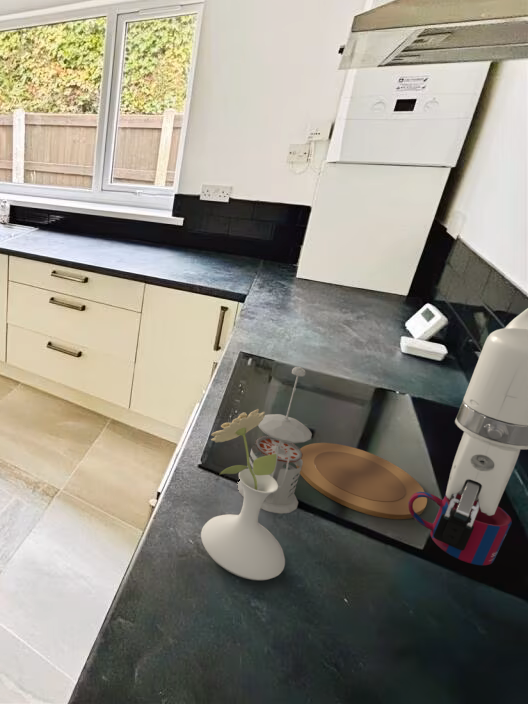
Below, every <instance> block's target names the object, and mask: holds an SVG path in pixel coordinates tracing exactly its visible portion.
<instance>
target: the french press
mask: <svg viewBox="0 0 528 704" xmlns="http://www.w3.org/2000/svg"><path fill="white" fill-rule="evenodd" d="M291 374H292V375H294V376H296V377H295V381H294V385H293V388H292V393H291V396H290V401H289V404H288V408H287V411H286V415H285V414H280V413H274V414H273V413H272V414H270V413H269V414H264V415H265V417H264V418H263V420H262V421H261V422H260V424H259V425H257V426H258V429H259V430H261V432H263V433H264V434H265V435H262V436H259V437H257V438H256V440H255V442H254V444H253V445H252V446H251V448H250V453H249V461H250V466H251V469H253V463H254V460H255V459H257V458H259V457H263V456H268V455H272V454H276V465H275V469H274V471H273V473H271V474H269V475H270V476H271V477H273V478H274V479H275V480H276V482H277V483H278V489H277V490H276V491H275V492H273V493H271V494H269V495H268V496H267V497H266V498H265V500H264V502H263V504H262V506H261V509H260V510H263V511H266V512H269V513H274V514H289V513H292V512H294V511H295V510H297V508H298V506H299V501H298V498H297V496H296V494H295V491H296V488H297V484H298V481H299V478H300V476H301V474H300V471H301V468H302V464H303V461H302V459H301V458H302V455H303V454H302V452H301V450H300V449H301V448H300V447H299V446H298V445H296V444H302V443H305V442H308V441H309V440H311V439H312V437H313V436H312V435H313V434H312V431H311V430H310V429H309V428H308V427H307V426H306V425H305V424H304V423H302V422H300V421H299V420H298V419H296V418H295V417H290V416H289V414H290V410H291V406H292V404H293V403H292V402H293V398H294V395H295V391H296V387H297V383H298V380H299V377H305V376H306V370H305V368H303V367H301V366H295V367H293V368H292V369H291ZM257 453H260V454H257ZM256 454H257V455H256ZM289 463H292V464H294V465H295V466H296V465H297V466H299V468H297V467H294V466H293V465H291V464H289ZM246 466H247V468H246V469H249V468H248V465H247V464H246ZM237 483H238V484H237ZM237 483H236V486H237V485H238V488H237V490H239V491H238V493H239V494H240V495H241V496H242V497H243V498H244V488H243V485H242V483H241V481H239V482H238V481H237Z"/></svg>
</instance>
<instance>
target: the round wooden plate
mask: <svg viewBox="0 0 528 704" xmlns="http://www.w3.org/2000/svg"><path fill="white" fill-rule="evenodd" d="M299 449H300V450H301V452H302V454H303V455H302V458H301V459H302V461H303V464H302V468H301V471H300V476H301V477H302V478H303V479H304V480H305V482H306V483H308V484H309V485H310V486H311V487H312V488H313V489H315V490H316V491H317V492H319V493H320V494H321V495H323V496H325V497H327V498H328V499H330V500H332V501H334V502H336V503H337V504H340V505H341V506H344V507H346V508H348V509H351V510H354V511H356V512H359V513H362V514H365V515H368V516H373V517H377V518H383V519H389V520H407V519H414V517H413V516H412V515H411V513H410V512H409V507H408V503H409V500H410V498H411V496H412V495H413V494H415V493H417V492H426V491H425V490H424V488H423V486H422V485H420V483H419V482H418V481H417V480H416V479H415V478H414V477H413V476H412V475H410V474H409V473H408V472H406V471H405V470H403V469H402V468H400V467H399V466H397V465H396V464H394V463H392V462H390V461H389V460H387V459H386V458H385V459H384V458H382V457H380V456H379V455H376V454H374V453H372V452H369V451H365V450H363V449H360V448H356V447H353V446H350V445H344V444H338V443H331V442H315V443H314V442H313V443H309V444H305V445H303V446H302V447H301V448H299ZM295 468H296V469H297V468H299V466H297V465H295ZM427 504H428V498H426V497H419V498H417V499H415V500H414V502H413V510H414V512H415V513H416V514H417V515H418V516H420V515H421V514H422V513H423V512H424V511H425V510H426V507H427Z"/></svg>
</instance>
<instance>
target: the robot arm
mask: <svg viewBox="0 0 528 704" xmlns="http://www.w3.org/2000/svg"><path fill="white" fill-rule="evenodd" d="M481 349H482V350H481V351H480V355H479V357H478V360H477V361H476V362H477V363H476V365H475V367H474V370H473V373H472V376H471V377H470V381H469V384H468V386H467V389H466V391H465V394H464V396H463V399H462V402H461V404H460V407H459V410H458V412H457V415H456V417H455V420H454V424H455V425H456V426H457V428H459V429H460V430H461V431H463V433H462V436H461V440H460V442H459V444H458V447H457V450H456V453H455V456H454V459H453V462H452V464H451V465H452V466H451V469H450V473H449V478H448V481H447V486H446V491H445V495H446V496H447V498H448V499H449V500H450V498H451V500H450V503H449V505H448V508H447V510H446V513H445V514H443V513H442V516H441V518H440V521H439V523H438V526H437V528H436V531H435V533H434V538H435V539H437V540H439V541H441V542H444V543H446V544H448V545H450V546H452V547H454V548H457V549H459V550H464V549H465V547H466V545H467V543H468V540H469V538H470V536H471V533H472V531H473V529H474V527H473V526H472V525H473V523H474V520H475V518H476V515H477V513H478V511H479V508H480V509H481V512H483V513H486V514H487V515H489V516H491V515H494V514H495V512H496V509H497V507H498V506H499V504H500V502H501V499H502V497H503V494H504V492H505V490H506V487H507V485H508V483H509V480H510V478H511V476H512V474H513V471H514V469H515V467H516V464H517V461H518V458H519V456H520V452H521V450H528V307H527V308H526V309H525V310H523V311H522V312H521V313H519V314H518V315H516V317H514V318H513V319H512V320H511V321H510V322H509V323H508V324H507V325H506V326H505V327H503V328H499V329H496V330H494V331H492V332H490V333H489V335H487V337H486V339H485V342H484V344H483V347H482V348H481ZM457 493H458V494H459V495H462V496H461V499H458V498H456V496H457ZM477 500H478V501H477ZM474 501H477V503H476V506H475V505H473V504H474ZM455 503H457V504H458V507H457V509H456V510H455V509H454V510H453V508H454V505H455ZM471 509H472V511H471ZM470 512H471V514H470ZM469 514H470V515H469Z"/></svg>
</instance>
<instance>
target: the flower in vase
mask: <svg viewBox="0 0 528 704" xmlns="http://www.w3.org/2000/svg"><path fill="white" fill-rule="evenodd" d="M259 411H260V409H259V408H257V409H255V410H253V411H251V412H250V413H249V414H247V412H245V411H244V412H242V413H240V414H239V415H238V417H236V418H234V419H232V422H224V423H222V424H221V425H220V427H221V429H220V430H216V431H214V432H212V433H211V434H210V436H212V438H211V439H210V440H211V441H212V442H214V443H224V442H229V441H232V440H233V439H236V438H238V437H240V436H241V437H242V439H243V443H244V449H245V455H246V465H243V464H236V465H232V466H229V467H226V468H225V469H223V470H222V471H220V472H219V475H218V476H220V475H224V474H226V475H236V474H238V480H239V479H240V481H241V483H242V485H243V488H244V497H243V501H242V507H241V509H240V513H239V514H230V513H228V514H222V515H221V514H220V515H217V516H213V517H211V518H210V519H208V520H207V522H205V524H203V527H202V529H201V530H200V531H201V532H200V538H201V542H202V545H203V547H204V549H205V551H206V552H207V554H208V555H209V557H210V558H211V559H212V560H213V561H214V562H215V563H216V564H217V565H218V566H220V567H221V568H223V570H225V571H227V572H228V573H230V574H233V575H235V576H237V577H240V578H242V579H245V580H246V579H247V580H251V581H267V580H270V579H273V578H276V577H278V576H280V574H281V573H283V571H284V569H285V566H286V558H285V554H284V550H283V548H282V545H281V544H280V542H279V541H278V540H277V538H276V537H275V535H273V534H272V532H270V531H269V530H268V529H267V528H266V527H265V526H263V525H262V524H261V523H259V516H260V512H261V510H262V509H261V506H262V504H263V502H264V500H265V498H266V497H267V496H268V495H269V494H271V493H273V492H275V491H276V490H277V489H278V483H277V482H276V480H275V479H274V478H273V477H271V476H270V475H269V474H271V473H273V471H274V469H275V465H276V454H272V455H268V456H263V457H259V458H257V459H255V460H254V461H253V462H254V463H253V469H251V467H252V466H251V465H250V461H249V457H250V453H249V446H248V441H247V437H246V436H247V435H246V434H247V433H248V432H250V431H252V430H253V429H254V428H256V427H257V426H258V425H259V424H260V422H261V421H262V420H263V418H264V417H265V415H266V412H265V411H262V412H259ZM247 465H248V467H247ZM247 468H249V469H247Z"/></svg>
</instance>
